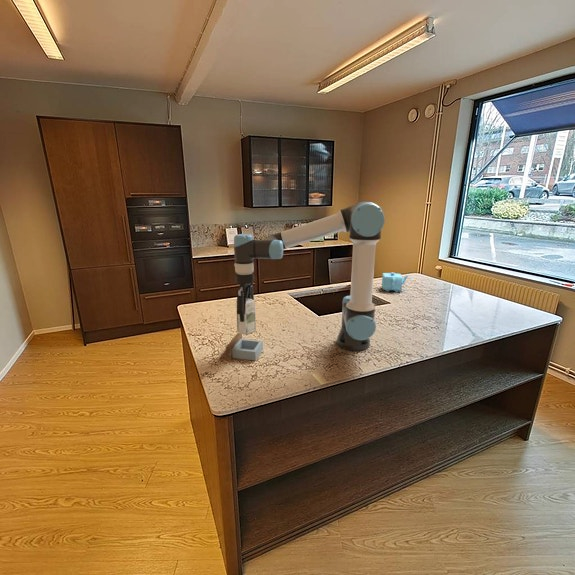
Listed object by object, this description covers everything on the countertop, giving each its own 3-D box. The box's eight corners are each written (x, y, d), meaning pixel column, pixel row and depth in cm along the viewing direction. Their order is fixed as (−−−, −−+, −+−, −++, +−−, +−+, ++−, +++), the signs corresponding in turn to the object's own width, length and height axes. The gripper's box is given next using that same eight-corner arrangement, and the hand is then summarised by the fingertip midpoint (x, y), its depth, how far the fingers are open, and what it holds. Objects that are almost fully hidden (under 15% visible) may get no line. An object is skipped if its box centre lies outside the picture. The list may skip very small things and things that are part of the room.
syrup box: (246, 328, 142) (245, 297, 138) (256, 331, 139) (255, 300, 135) (237, 332, 138) (235, 300, 134) (246, 336, 135) (245, 303, 130)
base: (242, 345, 149) (241, 333, 147) (230, 360, 136) (230, 347, 134) (232, 344, 150) (231, 332, 148) (219, 358, 137) (219, 346, 135)
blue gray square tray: (262, 349, 145) (262, 340, 144) (255, 360, 136) (255, 351, 134) (241, 346, 147) (240, 338, 146) (232, 357, 138) (232, 349, 137)
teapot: (383, 293, 223) (385, 275, 219) (381, 286, 238) (382, 269, 234) (410, 294, 220) (412, 276, 216) (406, 287, 235) (408, 270, 231)
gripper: (244, 266, 141) (246, 314, 148) (226, 278, 122) (229, 333, 129) (260, 267, 139) (261, 316, 146) (244, 279, 120) (246, 335, 127)
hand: (246, 324), depth 137 cm, fingers closed on syrup box, 7 cm apart
